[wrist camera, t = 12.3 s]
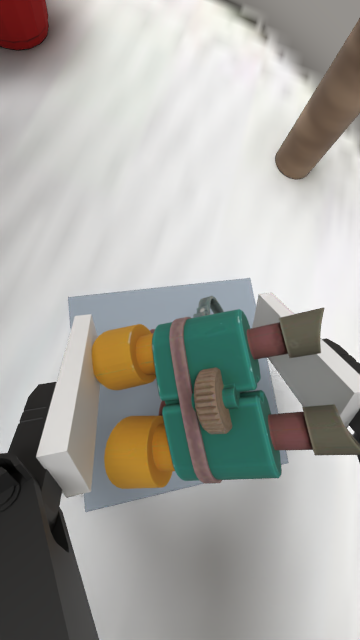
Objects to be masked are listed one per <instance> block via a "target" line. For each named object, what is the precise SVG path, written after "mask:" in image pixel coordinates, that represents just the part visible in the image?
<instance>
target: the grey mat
mask: <svg viewBox="0 0 360 640" xmlns="http://www.w3.org/2000/svg"><path fill="white" fill-rule="evenodd" d="M209 296H214V297H215V298H216V299H217V301H218V302H219V304H220V305H221V307H222V309H223V311H224V312H227V311H232V310H237V309H240V310H242V311H243V312H244V314H245V315H246V317H247V319H248V322H249V325H250V328H252V326H253V321H254V316H255V311H256V304H255V299H254V294H253V290H252V285H251V280H250V278H245V279H236V280H226V281H217V282H207V283H198V284H189V285H179V286H170V287H160V288H151V289H142V290H132V291H123V292H113V293H104V294H95V295H85V296H76V297H68V303H69V315H70V328H72V325H73V321H74V317H75V316H79V315H88V314H91V315H92V318H93V322H94V325H95V329H96V333H97V336H99V335H101V334H102V333H103V332H106V331H108V330H112V329H117V328H122V327H127V326H132V325H137V324H142V325H144V326H146V327H147V328H148V329H149V330H151V329H156V327H157V326H158V325H160V324H165V323H170V322H173V321H174V320H175V319H179V318H184V317H191V318H193V315H194V314H197V308H198V305H199V301H200V299H202V298H205V297H209ZM211 314H214V313H213V312H212V310H211V309H210V315H211ZM258 362H259V367H260V375H261V379H260V381H259V382H258V383H257V388H256V389H255V390H252V391H257V390H262V391H263V392H264V393H265V395H266V397H267V400H268V403H269V407H270V411H271V414H278V410H277V405H276V400H275V396H274V391H273V386H272V381H271V376H270V372H269V367H268V362H267V358H261V359H258ZM247 392H248V391H247ZM161 401H162V400H161V399H160V397H159V392H158V386H157V380H156V379H155V380H154V381H153V382H152V383H148V384H144V385H140V386H136V387H131V388H127V389H123V390H111V389H108V388H106V387H104V386H103V385H102V384H101V383H100V393H99V405H98V416H97V428H96V439H95V451H94V463H93V474H92V486H91V492H89V493H85V494H84V501H85V512H88V511H92V510H96V509H100V508H104V507H109V506H113V505H117V504H121V503H125V502H129V501H133V500H137V499H142V498H146V497H150V496H154V495H158V494H162V493H166V492H170V491H175V490H179V489H183V488H187V487H191V486H195V485H199V484H204V483H202V482H201V481H184V480H182V479H180V478H179V476H178V475H177V473H176V472H175V471H173V472H172V476H171V478H170V480H169V482H168V484H167V485H166V486H165V487H163V488H136V489H121V488H118V487H116V486H115V485H113V484H112V483H111V481H110V480H109V478H108V476H107V474H106V470H105V464H104V455H105V448H106V444H107V441H108V438H109V436H110V434H111V432H112V430H113V429H114V427H115V426H116V425H117V424H118V423H119V422H120V421H121V420H122V419H124V418H126V417H129V416H158V414H159V408H160V404H161ZM280 458H281V465H282V464H286V463H288V458H287V454H286V450H280Z"/></svg>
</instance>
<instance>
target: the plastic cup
mask: <svg viewBox="0 0 360 640" xmlns="http://www.w3.org/2000/svg"><path fill="white" fill-rule="evenodd" d="M48 27H49V25H48V13H47V7H46V1H45V0H0V46H1V47H3V48H9V49H14V50H21V49H29V48H32V47H34V46H36V45H38V44H40V43H41V42H42V41H43V40H44V39H45V37H46V36H47V33H48Z"/></svg>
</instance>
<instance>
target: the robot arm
mask: <svg viewBox="0 0 360 640" xmlns="http://www.w3.org/2000/svg"><path fill="white" fill-rule="evenodd" d="M289 315H294V313H293V312H292V311H291V310H290V309H289V308H288V307H287V306H286V305H284V304H283V303H282V302H281V301H280V300H279V299H278V298H277V297H276V296H275V295H274V294H273V293H265V294H259V296H258V301H257V306H256V311H255V316H254V321H253V326H252V328H256V327H260V326H265V325H269V324H274V323H278V322H280V320H279V318H281V317H285V316H289ZM97 338H98V336H97V333H96V329H95V325H94V322H93V318H92V315H91V314H88V315H79V316H75V317H74V321H73V325H72V328H71V332H70V335H69V339H68V343H67V346H66V350H65V354H64V357H63V361H62V364H61V368H60V372H59V375H58V379H57V382H52V383H46V384H39V385H38V386H37V387H36V388H35V390H34V391H33V392H32V393H31V395H30V396H29V397H28V400H27V403H26V405H25V408H24V412H23V413H22V416H21V419H20V424H18V427H17V429H16V432H15V435H14V437H13V440H12V443H11V445H10V448H9V451H8V453H3V454H0V640H99V638H98V635H97V631H96V628H95V624H94V621H93V617H92V614H91V610H90V607H89V603H88V600H87V596H86V593H85V589H84V586H83V582H82V579H81V575H80V572H79V568H78V565H77V562H76V558H75V555H74V551H73V548H72V544H71V541H70V537H69V534H68V530H67V527H66V523H65V520H64V516H63V513H62V511H61V509H60V507H59V505H60V499H61V493H62V492H63V494H64V495H65V496H66V497H72V496H76V495H80V494H85V493H89V492H91V486H92V474H93V463H94V451H95V439H96V428H97V416H98V405H99V393H100V382H99V381H98V380H97V378H96V377H95V375H94V372H93V365H92V346H93V344H94V342H95V340H96V339H97ZM320 345H321V353H319V354H313V355H307V356H301V357H295V358H289V355H288V354H285V355H279V356H273V357H268V358H269V360H270V361H271V363H272V364H273V365H274V367H275V368H276V370H277V371H278V372H279V374H280V375H281V377H282V378H283V379H284V381H285V382H286V384H287V385H288V386H289V388H290V389H291V391H292V392H293V393H294V395H295V396H296V397H297V399H298V400H299V402H300V403H301V404H302V406H303V407H308V406H320V405H332V404H335V406H336V408H337V410H338V412H339V415H340V417H341V419H342V422H343V424H344V426H345V427H346V428H347V427H348V426H350V427H351V428H352V429H353V430H354V434H353V435H352V436H353V437H354V438H355V439H356V440H357V442H358V443H359V444H360V363H359V362H356V360H355V359H354V358H353V357H352V356H351V355H348V353H347V352H346V351H345V350H344V349H343V348H342V347H341V346H339V345H338V344H336V343H334V342H332V341H330V340H329V339H321V338H320ZM357 456H358V459H359V462H360V455H357Z"/></svg>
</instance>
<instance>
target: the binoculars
mask: <svg viewBox="0 0 360 640" xmlns="http://www.w3.org/2000/svg"><path fill="white" fill-rule="evenodd" d="M210 309H211V310H212V312H213V313H214V314H211V315H210ZM323 312H324V308H320V309H316V310H311V311H307V312H302V313H298V314H294V315H289V316H285V317H281V318H279V320H280V322H278V323H274V324H269V325H265V326H260V327H256V328H250V325H249V322H248V319H247V317H246V315H245V314H244V312H243V311H242V310H240V309H237V310H232V311H227V312H224V311H223V309H222V307H221V305H220V304H219V302H218V301H217V299H216V298H215V297H214V296H209V297H205V298H202V299H200V301H199V305H198V308H197V314H194V315H193V318H191V317H184V318H179V319H175V320H174V321H173V322H170V323H165V324H160V325H158V326H157V327H156V329H151V330H149V329H148V328H147V327H146V326H144V325H142V324H137V325H132V326H127V327H122V328H117V329H112V330H108V331H106V332H103V333H102V334H101V335H99V336H98V338H97V339H96V340H95V342H94V344H93V346H92V365H93V372H94V375H95V377H96V378H97V380H98V381H99V382H100V383H101V384H102V385H103V386H104V387H106V388H108V389H111V390H123V389H127V388H131V387H136V386H140V385H144V384H148V383H152V382H153V381H154V380H155V379H156V380H157V386H158V392H159V397H160V399H161V400H162V401H161V404H160V408H159V414H158V416H129V417H126V418H124V419H122V420H121V421H120V422H119V423H118V424H117V425H116V426H115V427H114V429H113V430H112V432H111V434H110V436H109V438H108V441H107V444H106V448H105V455H104V464H105V470H106V474H107V476H108V478H109V480H110V481H111V483H112V484H113V485H115V486H116V487H118V488H121V489H136V488H163V487H165V486H166V485H167V484H168V482H169V480H170V478H171V476H172V472H173V471H175V472H176V473H177V475H178V476H179V478H180V479H182V480H184V481H201V482H202V483H220V482H221V481H222V480H231V479H262V478H279V477H280V475H281V458H280V450H313V451H314V454H315V455H360V444H359V443H358V442H357V440H356V439H355V438H354V437H353V436H352V434H351V433H350V432H349V431H348V430H347V428H346V427H345V426H344V424H343V422H342V419H341V417H340V415H339V412H338V410H337V408H336V406H335V404H332V405H320V406H308V407H303V411H304V412H295V413H282V414H271V411H270V407H269V403H268V400H267V397H266V395H265V393H264V392H263V391H262V390H257V391H252V390H255V389H256V388H257V383H258V382H259V381H260V379H261V375H260V367H259V362H258V359H261V358H267V357H273V356H279V355H285V354H288V355H289V358H295V357H301V356H307V355H313V354H319V353H321V345H320V331H321V322H322V317H323ZM247 391H248V392H247Z"/></svg>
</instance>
